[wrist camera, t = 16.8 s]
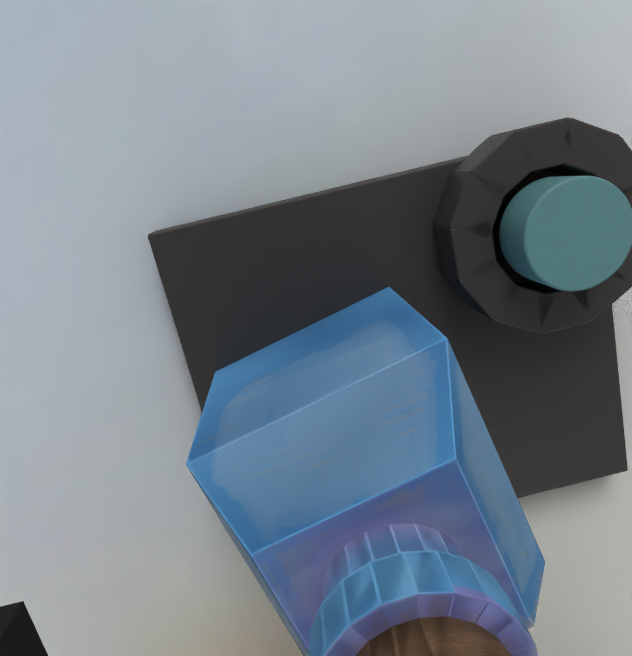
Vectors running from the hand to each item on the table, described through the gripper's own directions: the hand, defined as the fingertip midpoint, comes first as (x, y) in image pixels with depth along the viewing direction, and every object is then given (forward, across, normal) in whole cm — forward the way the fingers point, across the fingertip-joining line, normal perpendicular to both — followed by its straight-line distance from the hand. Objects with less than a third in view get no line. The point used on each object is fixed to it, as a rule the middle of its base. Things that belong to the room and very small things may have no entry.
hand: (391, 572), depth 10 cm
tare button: (+7, +7, +4) cm, 11 cm away
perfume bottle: (+9, 0, 0) cm, 9 cm away
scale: (+10, +2, +1) cm, 10 cm away
